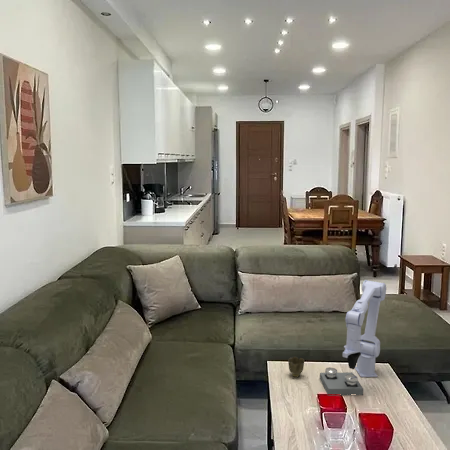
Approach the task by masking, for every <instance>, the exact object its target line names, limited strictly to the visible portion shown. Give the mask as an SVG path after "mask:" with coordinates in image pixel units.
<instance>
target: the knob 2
mask: <svg viewBox="0 0 450 450" xmlns="http://www.w3.org/2000/svg"><path fill="white" fill-rule="evenodd" d="M345 380H346V385H347V386H348V387H356V382H357V381H358V382H359V380H358V376H357V375H355V374H354V375H351V374H349V375H346V376H345Z"/></svg>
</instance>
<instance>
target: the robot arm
mask: <svg viewBox="0 0 450 450" xmlns="http://www.w3.org/2000/svg"><path fill="white" fill-rule="evenodd" d="M361 290H362V291H361V292H362V293H361V296H360V299H358V300H357V299H356V301H355V302H354V305H353V306H352V308H351V309H350V310H348V311H347V312H346V315H345V321H344V322H345V328H346V344H345V345H344V346H343V348H344V351H342V357H343V358H346V360H347V363H348V368H349V369H351V370H355V371H356V372H357V374H358V375H359V376H360V378H378V374H377V373H376V372H375V371H376V358H378V357H379V355H380V352H381V341H380V339H379V338H378V337H377V336H376V332H377V327H378V326H377V324H378V319H379V312H380V305H381V302H382V301H385V298H386V293H387V284H386V283H385V282H380V281H373V280H368V279H364V280H363V282H362V284H361ZM366 314H367V316H366V323H365V327H364V328H365V329H364V334H362V326H363V325H364V321H365V315H366Z"/></svg>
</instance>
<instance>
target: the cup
mask: <svg viewBox="0 0 450 450" xmlns="http://www.w3.org/2000/svg"><path fill="white" fill-rule="evenodd" d="M287 361H288V370H289V372H290V373H291V376H292V377H294V378H300V375H301V373H303V371H304V366H305V359H304V358H302V357H300V358H298V356H291V357H289V358H288V359H287Z"/></svg>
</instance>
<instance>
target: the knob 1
mask: <svg viewBox="0 0 450 450" xmlns="http://www.w3.org/2000/svg"><path fill="white" fill-rule="evenodd" d="M324 373H326V374H327V375H326V378H327V379H335V378H336V374H337V373H338V369H337V368H335V367H331V366H330V367H326V368H325V369H324Z"/></svg>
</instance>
